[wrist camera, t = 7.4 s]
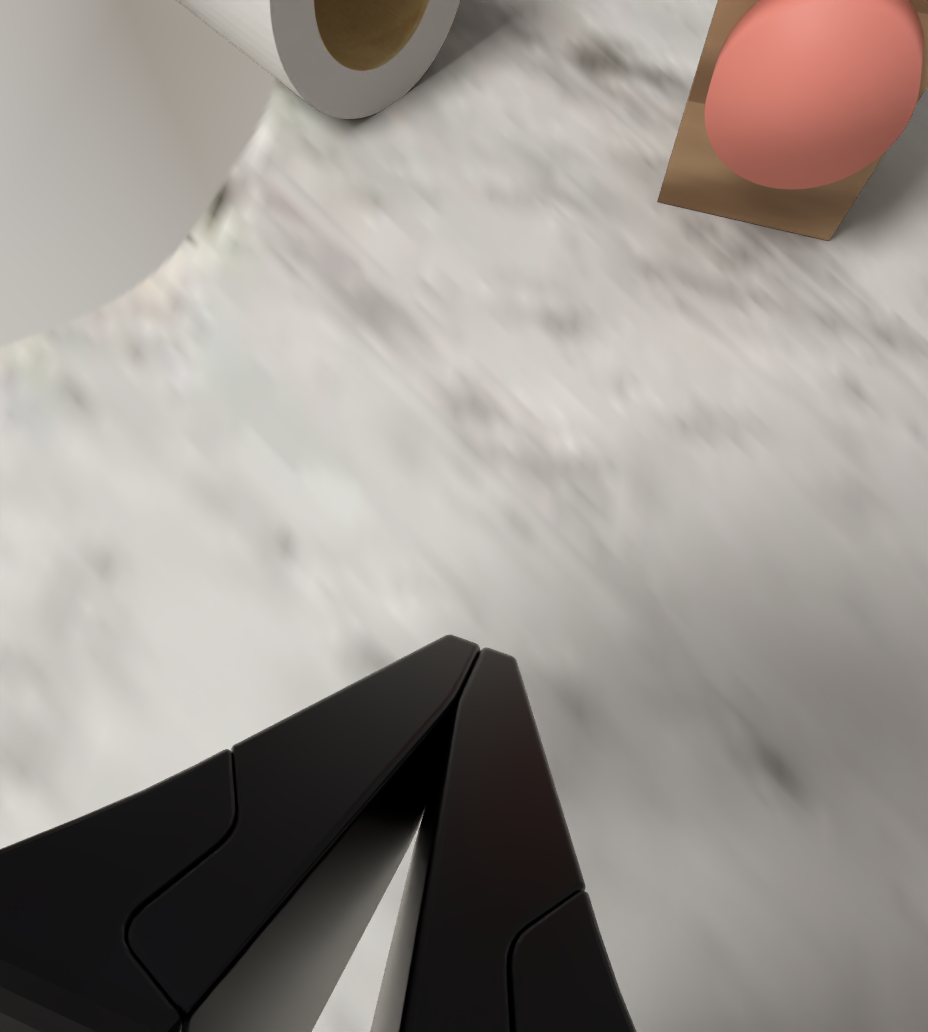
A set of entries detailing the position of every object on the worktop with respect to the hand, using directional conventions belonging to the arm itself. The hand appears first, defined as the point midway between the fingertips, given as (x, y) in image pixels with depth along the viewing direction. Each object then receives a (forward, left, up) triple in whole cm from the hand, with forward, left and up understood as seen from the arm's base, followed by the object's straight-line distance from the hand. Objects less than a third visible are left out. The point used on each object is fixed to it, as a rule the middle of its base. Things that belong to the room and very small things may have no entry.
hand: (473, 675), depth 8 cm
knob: (+24, -7, -10) cm, 27 cm away
